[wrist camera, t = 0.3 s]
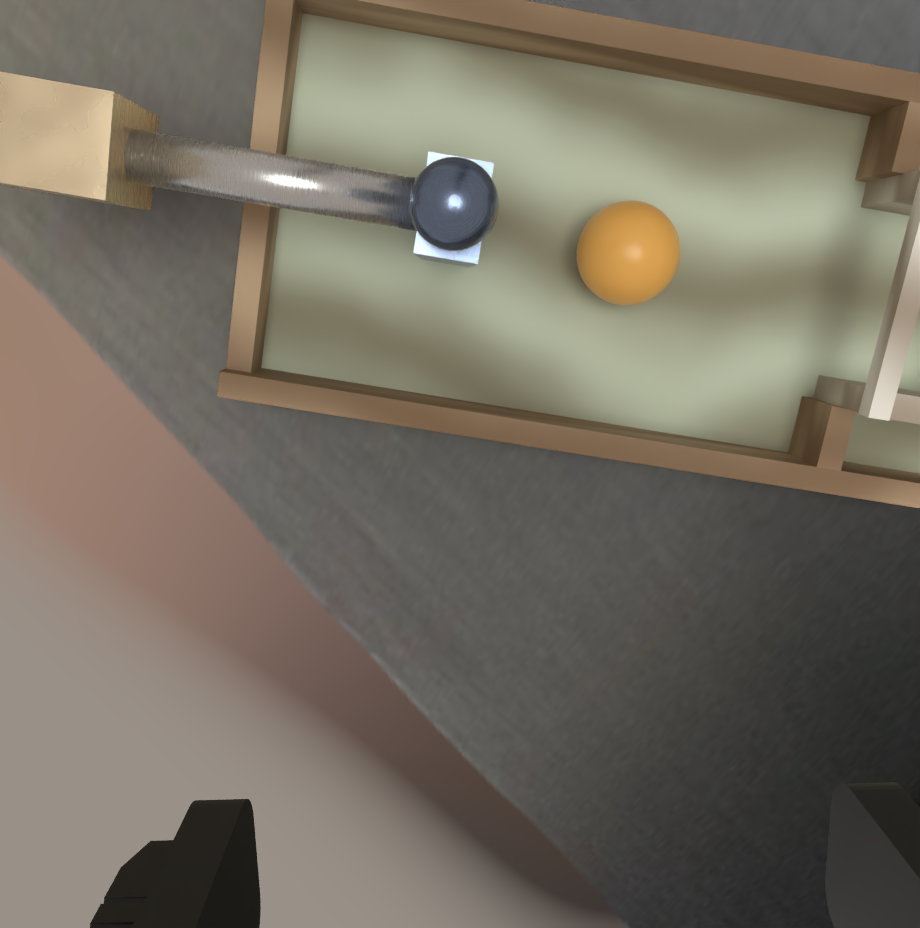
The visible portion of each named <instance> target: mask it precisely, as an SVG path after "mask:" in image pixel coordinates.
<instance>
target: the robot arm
mask: <svg viewBox="0 0 920 928" xmlns="http://www.w3.org/2000/svg"><path fill="white" fill-rule="evenodd" d="M825 889H826V899H827V905H828V909H829V913H830V917H831V920H832V923H833V925H834V928H920V807H919V806H918V805H917V804H916V802H915V801H914V800H913V799H912V798H911V797H910V796H909V794H908V793H907V792H906V791H905V790H904V789H903V788H902V787H901V786H900V785H899V784H897V783H895V782H879V783H845V784H838V785H837V786H836V787H835V789H834V791H833V795H832V802H831V814H830V827H829V840H828V853H827V866H826V879H825ZM259 925H260V888H259V876H258V865H257V852H256V841H255V828H254V818H253V809H252V805H251V802H250V800H249V799H234V800H199V801H194V802H193V803H192V804H191V805H190V807H189V809H188V811H187V813H186V815H185V817H184V819H183V822H182V824H181V826H180V828H179V830H178V832H177V834H176V836H175V838H174V840H169V841H150V842H149V843H148V844H147V845H146V846H145V847H143V848H142V849H141V850H140V851H139V852H138V853H137V854H136V855H135V856H133V857H132V858H131V859H130V860H129V861H128V862H127V863H126V864H124V865H123V866H122V867H121V869H120V870H119V872H118V874H117V876H116V877H115V879H114V882H113V883H112V885H111V887H110V888H109V890H108V892H107V894H106V896H105V898H104V904H101V905H100V907H99V909H98V910H97V912H96V914H95V916H94V918H93V920H92V922H91V923H90V928H259Z"/></svg>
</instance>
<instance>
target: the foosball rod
mask: <svg viewBox="0 0 920 928" xmlns="http://www.w3.org/2000/svg"><path fill="white" fill-rule="evenodd" d="M158 123H159V117H158V116H156V115H154V114H153V113H151V112H149V111H147V110H145V109H144V108H142V107H140V106H138V105H137V104H135V103H133V102H131V101H130V100H128V99H126V98H124V97H122V96H121V95H119V94H117V93H115V92H113V91H107V90H102V89H96V88H90V87H84V86H79V85H73V84H67V83H62V82H56V81H50V80H44V79H39V78H33V77H27V76H22V75H16V74H10V73H4V72H0V185H1V186H7V187H12V188H18V189H24V190H30V191H36V192H42V193H48V194H54V195H60V196H66V197H72V198H78V199H84V200H90V201H96V202H101V203H107V204H113V205H119V206H125V207H131V208H137V209H143V210H149V211H151V203H152V191H153V187H159V188H165V189H171V190H176V191H182V192H188V193H194V194H200V195H206V196H212V197H218V198H223V199H229V200H235V201H241V202H247V203H253V204H259V205H265V206H271V207H276V208H282V209H288V210H294V211H300V212H306V213H312V214H318V215H324V216H329V217H335V218H341V219H347V220H353V221H359V222H365V223H371V224H376V225H382V226H388V227H394V228H400V229H406V230H412V231H417V232H416V239H415V245H414V252H413V253H414V254H415V255H416V256H418V257H419V258H420V259H422V260H428V261H434V262H440V263H446V264H452V265H458V266H464V267H472V266H474V265H476V264H478V259H479V253H480V247H481V241H482V240H484V239H485V238H486V236H487V235H488V234H489V233H490V231H491V230H492V228H493V226H494V225H495V222H496V219H497V216H498V210H499V198H498V192H497V189H496V186H495V184H494V182H493V180H492V173H493V167H494V163H491V162H486V161H480V160H474V159H469V158H463V157H457V156H451V155H446V154H440V153H434V152H429V151H428V158H427V165H426V167H425V168H424V169H423V170H422V171H421V172H420V173H419V175H418V176H417V178H416V177H410V176H404V175H399V174H393V173H387V172H381V171H375V170H370V169H364V168H358V167H352V166H347V165H341V164H335V163H329V162H323V161H318V160H312V159H306V158H300V157H295V156H289V155H283V154H277V153H271V152H266V151H260V150H254V149H248V148H243V147H237V146H231V145H225V144H219V143H214V142H208V141H202V140H196V139H191V138H185V137H179V136H173V135H167V134H162V133H158Z"/></svg>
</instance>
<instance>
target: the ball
mask: <svg viewBox="0 0 920 928" xmlns="http://www.w3.org/2000/svg"><path fill="white" fill-rule="evenodd" d="M680 250H681V248H680V240H679V236H678V233H677V231H676V228H675V227H674V225H673V223H672V222H671V220H670V219H669V218H668V217H667V216H666V215H665V214H664V213H663V212H662V211H661V210H659V209H658V208H656V207H655V206H653V205H651V204H648V203H645V202H641V201H633V200H632V201H621V202H616V203H613V204H611V205H608V206H606V207H604V208H603V209H601V210H600V211H599V212H597V213H596V214H595V215H594V216H593V217H592V218H591V219H590V220H589V221H588V223H587V224H586V225H585V227H584V229H583V231H582V232H581V235H580V238H579V241H578V245H577V266H578V270H579V273H580V275H581V278H582V279H583V281H584V283H585V284H586V286H587V287H588V288H589V289H590V290H591V291H592V292H593V293H594V294H595V295H596V296H598V297H599V298H601V299H603V300H604V301H607V302H609V303H612V304H616V305H624V306H625V305H636V304H640V303H644V302H646V301H648V300H651V299H652V298H654V297H656V296H657V295H658V294H660V293H661V292H662V291H663V290H664V289H665V288H666V287H667V286H668V285H669V283H670V282H671V281H672V279H673V277H674V275H675V273H676V271H677V268H678V265H679V261H680Z"/></svg>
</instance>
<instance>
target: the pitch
mask: <svg viewBox="0 0 920 928" xmlns="http://www.w3.org/2000/svg"><path fill="white" fill-rule="evenodd" d="M250 149H254V150H260V151H266V152H271V153H277V154H283V155H289V156H295V157H300V158H306V159H312V160H318V161H323V162H329V163H335V164H341V165H347V166H352V167H358V168H364V169H370V170H375V171H381V172H387V173H393V174H399V175H404V176H410V177H416V178H417V176H418V175H419V173H420V172H421V171H422V170H423V169H424V168H425V167H426V165H427V158H428V151H429V152H434V153H440V154H446V155H451V156H457V157H463V158H469V159H474V160H480V161H486V162H491V163H494V167H493V173H492V180H493V182H494V184H495V186H496V189H497V192H498V198H499V210H498V216H497V219H496V222H495V225H494V226H493V228H492V230H491V231H490V233H489V234H488V235H487V236H486V238H485V239H484V240H482V241H481V247H480V253H479V259H478V264H476V265H474V266H472V267H464V266H458V265H452V264H446V263H440V262H434V261H428V260H422V259H420V258H419V257H418V256H416V255H415V254H414V253H413V252H414V245H415V239H416V232H417V231H412V230H406V229H400V228H394V227H388V226H382V225H376V224H371V223H365V222H359V221H353V220H347V219H341V218H335V217H329V216H324V215H318V214H312V213H306V212H300V211H294V210H288V209H282V208H276V207H271V206H265V205H259V204H253V203H247V202H244V207H243V216H242V225H241V234H240V243H239V253H238V262H237V271H236V280H235V289H234V299H233V308H232V317H231V326H230V335H229V345H228V354H227V363H226V369H224V370H222V371H220V372H219V381H218V391H217V397H222V398H228V399H234V400H240V401H247V402H253V403H259V404H266V405H272V406H278V407H285V408H291V409H297V410H304V411H310V412H316V413H322V414H329V415H335V416H341V417H348V418H354V419H360V420H367V421H373V422H379V423H386V424H392V425H398V426H405V427H411V428H417V429H423V430H430V431H436V432H442V433H449V434H455V435H461V436H468V437H474V438H480V439H487V440H493V441H499V442H505V443H512V444H518V445H524V446H531V447H537V448H543V449H550V450H556V451H562V452H569V453H575V454H581V455H587V456H594V457H600V458H606V459H613V460H619V461H625V462H632V463H638V464H644V465H651V466H657V467H663V468H670V469H676V470H682V471H688V472H695V473H701V474H707V475H714V476H720V477H726V478H733V479H739V480H745V481H752V482H758V483H764V484H770V485H777V486H783V487H789V488H796V489H802V490H808V491H815V492H821V493H827V494H834V495H840V496H846V497H852V498H859V499H865V500H871V501H878V502H884V503H890V504H897V505H903V506H909V507H916V508H920V73H916V72H910V71H905V70H899V69H894V68H888V67H883V66H878V65H872V64H867V63H861V62H856V61H851V60H845V59H840V58H834V57H829V56H823V55H818V54H813V53H807V52H802V51H796V50H791V49H785V48H780V47H775V46H769V45H764V44H758V43H753V42H748V41H742V40H737V39H731V38H726V37H720V36H715V35H710V34H704V33H699V32H693V31H688V30H682V29H677V28H672V27H666V26H661V25H655V24H650V23H645V22H639V21H634V20H628V19H623V18H617V17H612V16H607V15H601V14H596V13H590V12H585V11H579V10H574V9H569V8H563V7H558V6H552V5H547V4H542V3H536V2H531V1H525V0H266V4H265V13H264V22H263V32H262V41H261V50H260V59H259V68H258V78H257V87H256V96H255V105H254V114H253V124H252V133H251V142H250ZM632 200H633V201H641V202H645V203H648V204H651V205H653V206H655V207H656V208H658V209H659V210H661V211H662V212H663V213H664V214H665V215H666V216H667V217H668V218H669V219H670V220H671V222H672V223H673V225H674V227H675V228H676V231H677V233H678V236H679V240H680V248H681V250H680V261H679V265H678V268H677V271H676V273H675V275H674V277H673V279H672V281H671V282H670V283H669V285H668V286H667V287H666V288H665V289H664V290H663V291H662V292H661V293H660V294H658V295H657V296H656V297H654V298H652V299H651V300H648V301H646V302H644V303H640V304H636V305H625V306H624V305H616V304H612V303H609V302H607V301H604V300H603V299H601V298H599V297H598V296H596V295H595V294H594V293H593V292H592V291H591V290H590V289H589V288H588V287H587V286H586V284H585V283H584V281H583V279H582V278H581V275H580V273H579V270H578V266H577V245H578V241H579V238H580V235H581V232H582V231H583V229H584V227H585V225H586V224H587V223H588V221H589V220H590V219H591V218H592V217H593V216H594V215H595V214H596V213H597V212H599V211H600V210H601V209H603V208H604V207H606V206H608V205H611V204H613V203H616V202H621V201H632Z"/></svg>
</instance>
